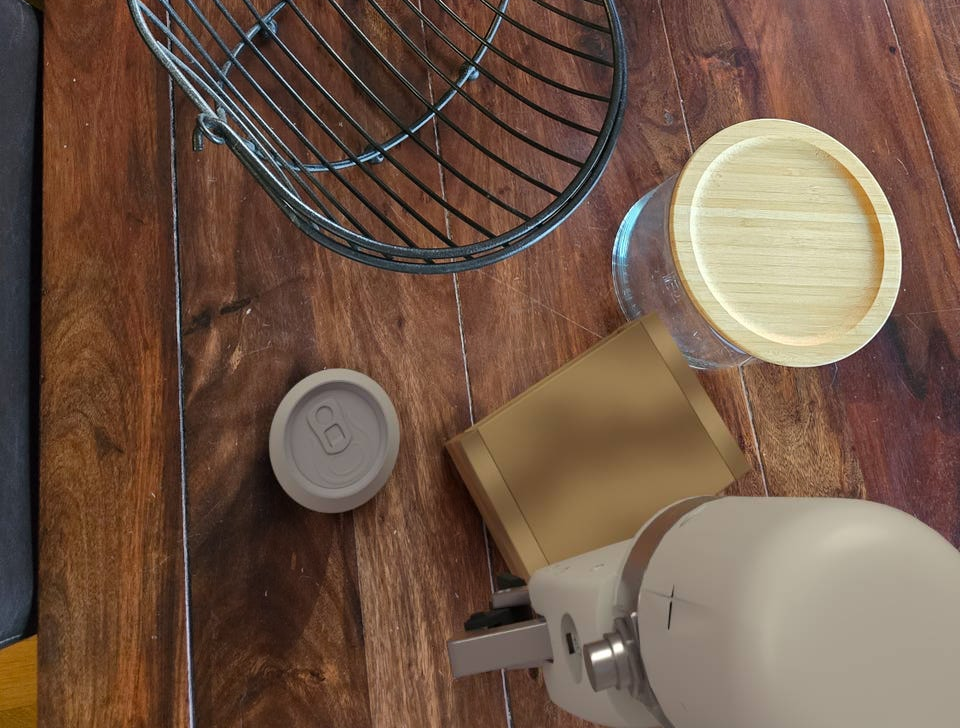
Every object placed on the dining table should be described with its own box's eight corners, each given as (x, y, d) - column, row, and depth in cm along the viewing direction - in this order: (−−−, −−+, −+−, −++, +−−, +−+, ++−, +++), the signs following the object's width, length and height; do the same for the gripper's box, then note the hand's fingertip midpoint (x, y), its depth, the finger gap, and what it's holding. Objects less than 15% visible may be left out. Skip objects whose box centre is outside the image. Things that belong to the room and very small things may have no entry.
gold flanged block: (713, 469, 72) (752, 468, 66) (528, 606, 67) (552, 619, 61) (625, 323, 76) (655, 309, 69) (444, 443, 71) (458, 440, 65)
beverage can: (306, 533, 67) (308, 544, 57) (251, 423, 70) (244, 414, 59) (406, 463, 70) (427, 461, 59) (351, 359, 72) (361, 339, 62)
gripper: (509, 843, 35) (445, 736, 50) (1000, 680, 39) (804, 626, 54) (458, 563, 38) (412, 541, 53) (915, 439, 42) (752, 452, 57)
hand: (609, 584), depth 53 cm, fingers open, 9 cm apart
